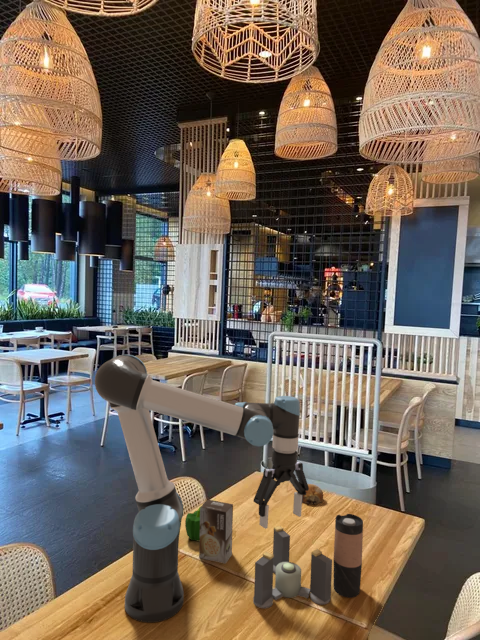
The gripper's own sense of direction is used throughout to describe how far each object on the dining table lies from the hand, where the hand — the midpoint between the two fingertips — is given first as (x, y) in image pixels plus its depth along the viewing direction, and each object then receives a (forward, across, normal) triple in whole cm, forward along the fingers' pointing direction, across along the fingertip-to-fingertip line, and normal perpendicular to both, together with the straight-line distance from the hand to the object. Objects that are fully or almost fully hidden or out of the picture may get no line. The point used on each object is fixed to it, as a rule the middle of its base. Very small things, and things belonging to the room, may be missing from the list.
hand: (280, 520), depth 131 cm
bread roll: (+15, -45, -29) cm, 56 cm away
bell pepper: (+16, +9, -29) cm, 35 cm away
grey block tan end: (+15, -1, 0) cm, 15 cm away
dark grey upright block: (+15, +13, +8) cm, 21 cm away
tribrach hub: (+15, +4, +8) cm, 18 cm away
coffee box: (+16, +11, -17) cm, 26 cm away
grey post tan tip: (+15, -1, +16) cm, 22 cm away
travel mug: (+15, -10, +18) cm, 25 cm away
